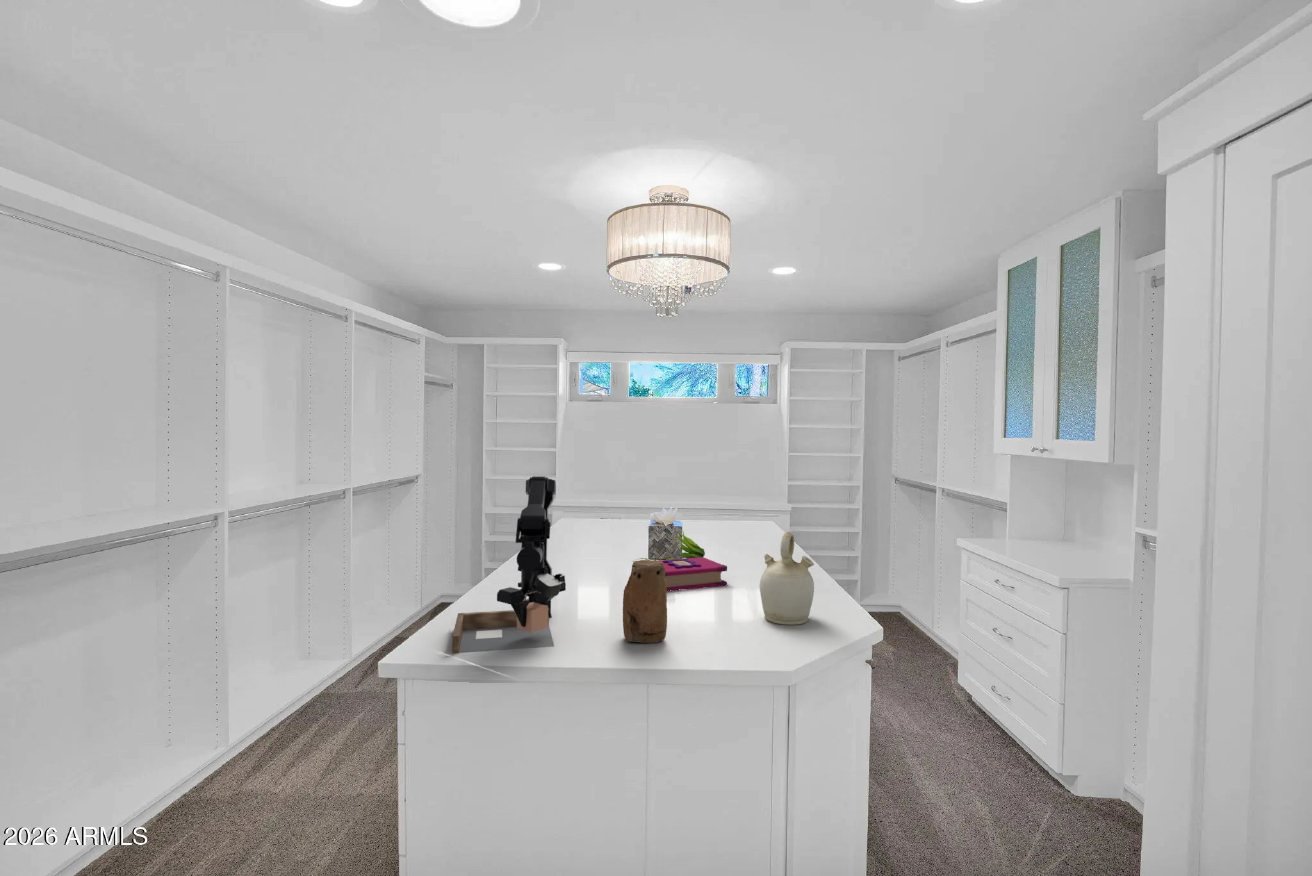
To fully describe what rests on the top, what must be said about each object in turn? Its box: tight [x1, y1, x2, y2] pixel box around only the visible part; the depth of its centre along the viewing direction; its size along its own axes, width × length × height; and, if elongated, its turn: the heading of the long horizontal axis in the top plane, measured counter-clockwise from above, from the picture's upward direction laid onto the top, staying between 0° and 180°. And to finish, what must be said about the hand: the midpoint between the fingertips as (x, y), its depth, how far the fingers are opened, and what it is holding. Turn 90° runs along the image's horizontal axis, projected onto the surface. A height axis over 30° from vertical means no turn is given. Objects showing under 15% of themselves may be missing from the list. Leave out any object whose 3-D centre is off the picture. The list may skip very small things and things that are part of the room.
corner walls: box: [451, 608, 550, 654], centre depth 165 cm, size 24×20×4 cm
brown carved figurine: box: [622, 559, 668, 644], centre depth 164 cm, size 11×8×20 cm
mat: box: [458, 623, 555, 654], centre depth 165 cm, size 24×20×1 cm
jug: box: [759, 531, 815, 626], centre depth 184 cm, size 15×16×25 cm
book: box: [658, 557, 728, 592], centre depth 228 cm, size 21×28×8 cm
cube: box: [517, 602, 548, 632], centre depth 163 cm, size 6×6×6 cm
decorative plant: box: [631, 527, 706, 563], centre depth 264 cm, size 18×30×15 cm, turn 87°
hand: (532, 623), depth 163 cm, fingers closed on cube, 5 cm apart
